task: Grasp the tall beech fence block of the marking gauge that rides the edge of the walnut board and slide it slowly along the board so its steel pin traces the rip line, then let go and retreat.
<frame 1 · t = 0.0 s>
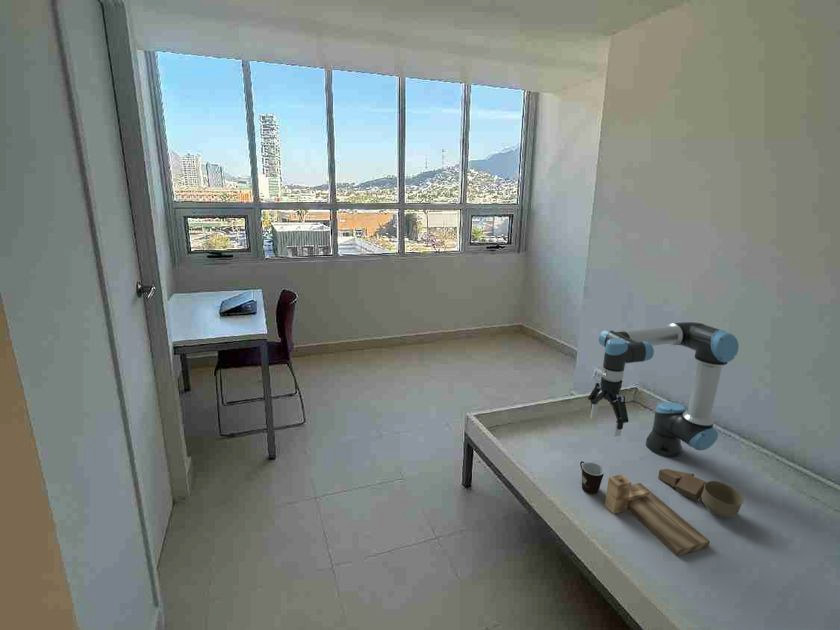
hand: (604, 426, 174), 28 cm above the table, fingers open, 13 cm apart
gauge: (630, 490, 168), point 7 cm above the table, slide at -9.0 cm
board: (656, 518, 164), on the table
coffee mug: (589, 487, 181), on the table
bowl: (718, 513, 167), on the table
wooden block: (683, 487, 181), on the table
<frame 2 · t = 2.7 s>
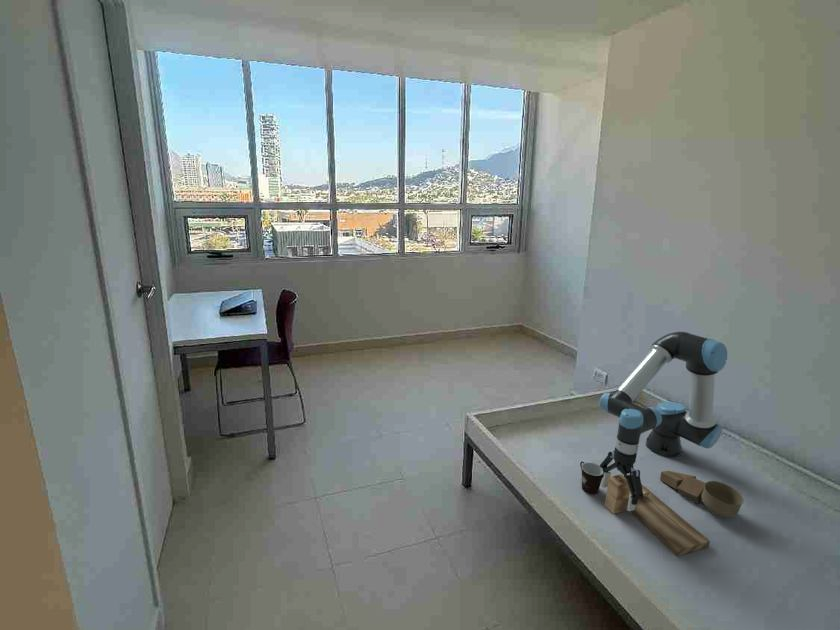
hand: (617, 498, 166), 5 cm above the table, fingers open, 13 cm apart
coffee mug: (589, 487, 181), on the table, touching gripper
wooden block: (685, 489, 180), on the table
everything else where it was.
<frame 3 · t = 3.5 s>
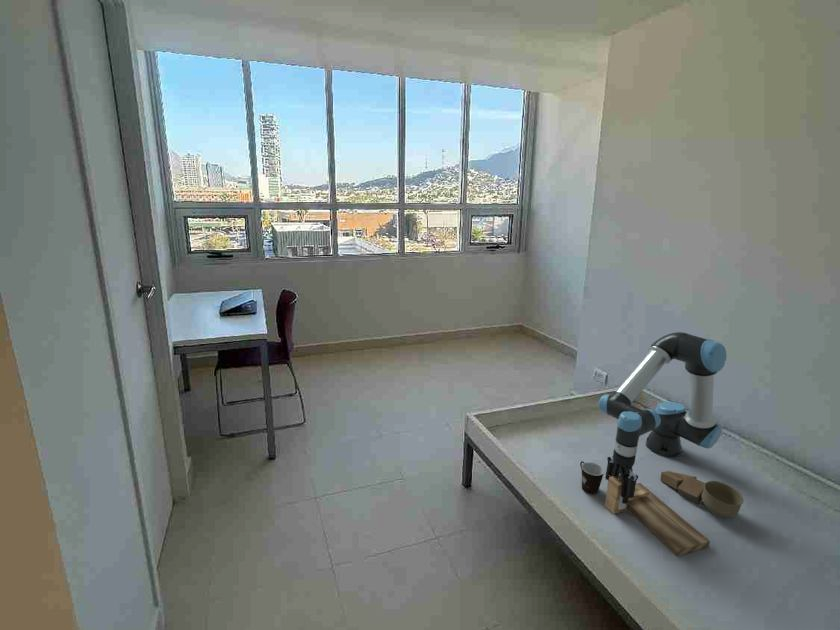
hand: (616, 503, 168), 2 cm above the table, fingers closed on gauge, 5 cm apart
gauge: (630, 490, 168), point 7 cm above the table, slide at -9.0 cm, touching gripper
coffee mug: (589, 487, 181), on the table
everything else where it was.
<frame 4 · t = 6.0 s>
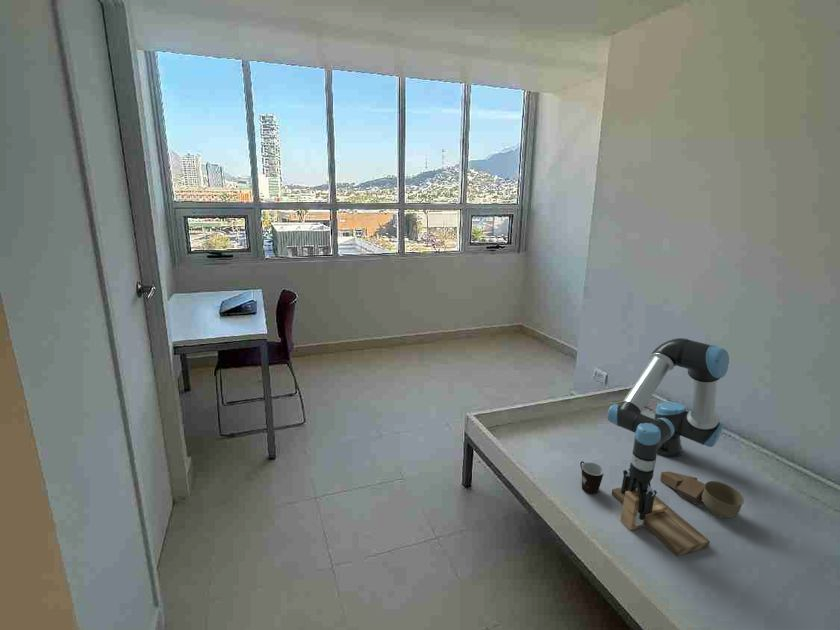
hand: (632, 519, 160), 2 cm above the table, fingers closed on gauge, 5 cm apart
gauge: (647, 505, 160), point 7 cm above the table, slide at -0.4 cm, touching gripper
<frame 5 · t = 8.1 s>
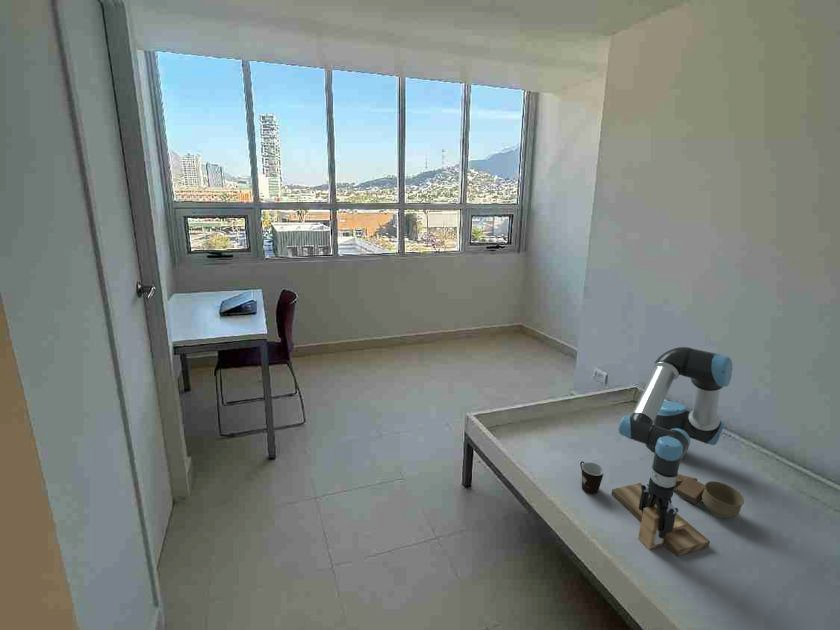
hand: (651, 536, 152), 2 cm above the table, fingers closed on gauge, 5 cm apart
gauge: (666, 522, 152), point 7 cm above the table, slide at 8.4 cm, touching gripper
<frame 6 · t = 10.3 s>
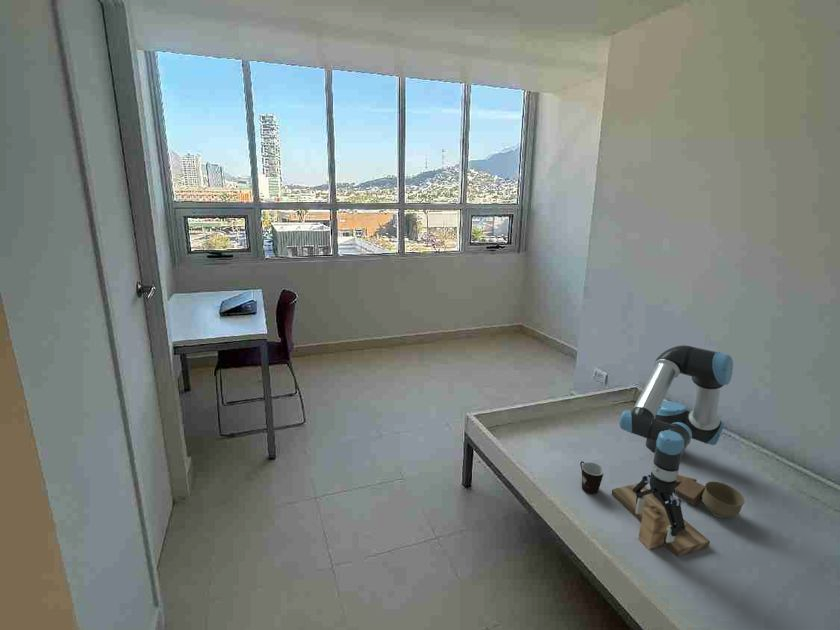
hand: (653, 526, 151), 7 cm above the table, fingers open, 13 cm apart
gauge: (666, 522, 152), point 7 cm above the table, slide at 8.5 cm
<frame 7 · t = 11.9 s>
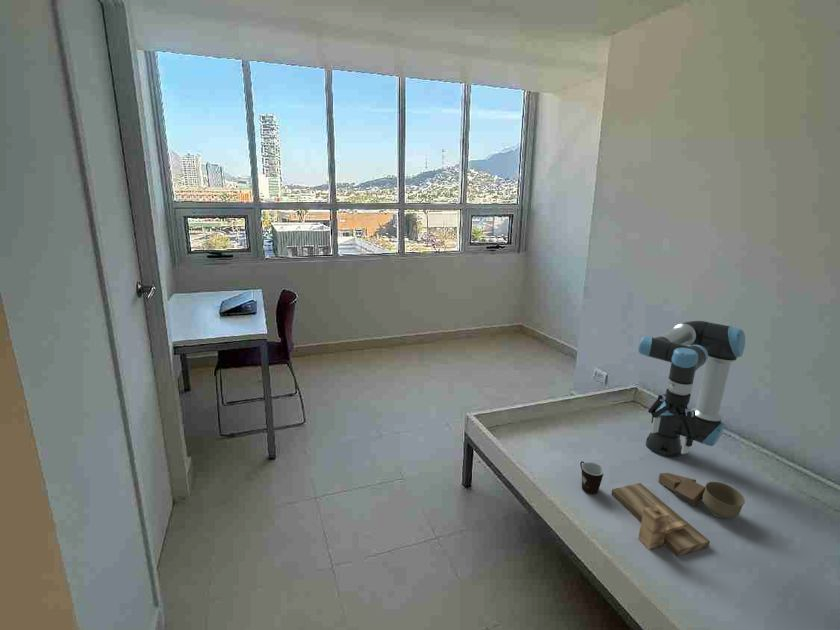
hand: (669, 442, 160), 30 cm above the table, fingers open, 13 cm apart
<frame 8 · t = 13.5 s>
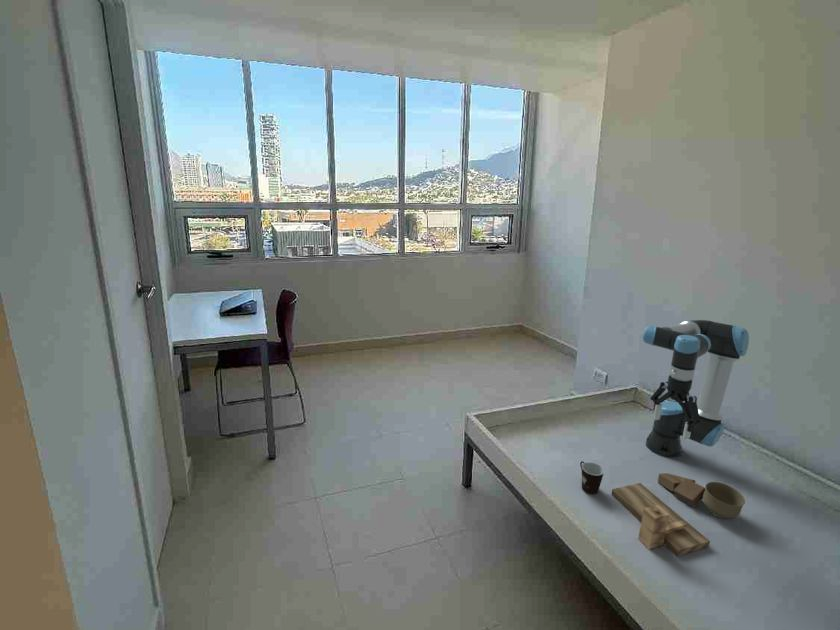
hand: (670, 428, 164), 33 cm above the table, fingers open, 13 cm apart
bowl: (719, 514, 166), on the table, touching wooden block
wooden block: (682, 492, 178), on the table, touching bowl
everything else where it was.
at the end: gauge slide at 8.5 cm; the gripper is holding nothing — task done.
